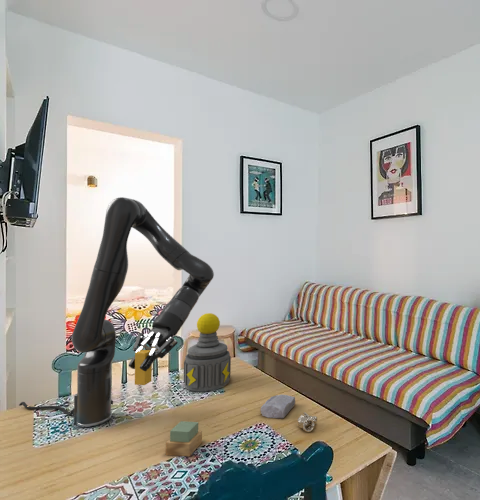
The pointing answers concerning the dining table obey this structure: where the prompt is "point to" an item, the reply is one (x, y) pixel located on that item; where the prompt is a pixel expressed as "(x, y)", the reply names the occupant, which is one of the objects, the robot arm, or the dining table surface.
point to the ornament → (306, 422)
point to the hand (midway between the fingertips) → (137, 368)
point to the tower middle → (184, 431)
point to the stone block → (277, 406)
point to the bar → (141, 375)
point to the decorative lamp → (207, 358)
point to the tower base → (184, 446)
